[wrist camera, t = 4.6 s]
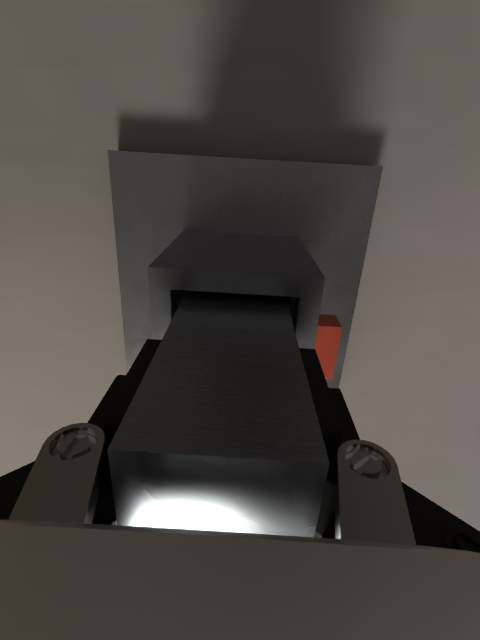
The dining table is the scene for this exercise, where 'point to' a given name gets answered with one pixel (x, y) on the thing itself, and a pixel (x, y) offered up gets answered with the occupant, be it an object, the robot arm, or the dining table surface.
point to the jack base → (242, 240)
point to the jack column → (222, 425)
